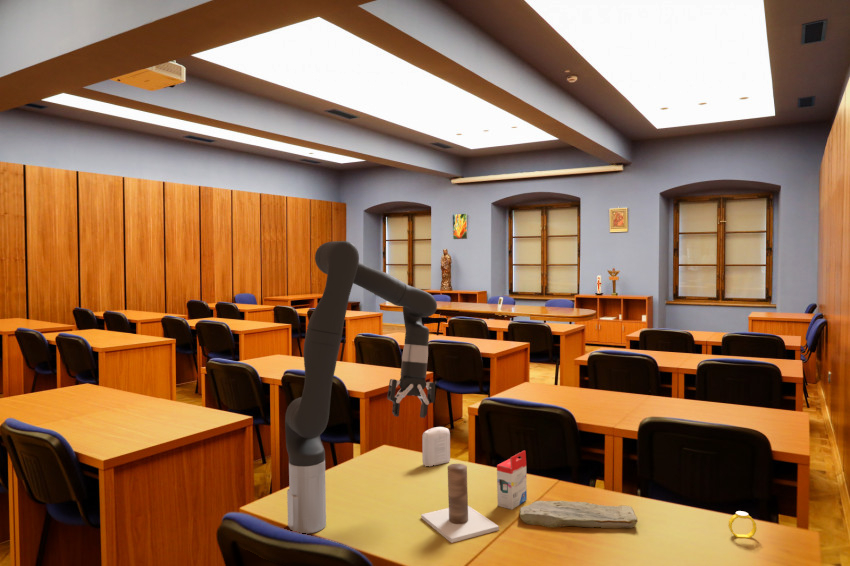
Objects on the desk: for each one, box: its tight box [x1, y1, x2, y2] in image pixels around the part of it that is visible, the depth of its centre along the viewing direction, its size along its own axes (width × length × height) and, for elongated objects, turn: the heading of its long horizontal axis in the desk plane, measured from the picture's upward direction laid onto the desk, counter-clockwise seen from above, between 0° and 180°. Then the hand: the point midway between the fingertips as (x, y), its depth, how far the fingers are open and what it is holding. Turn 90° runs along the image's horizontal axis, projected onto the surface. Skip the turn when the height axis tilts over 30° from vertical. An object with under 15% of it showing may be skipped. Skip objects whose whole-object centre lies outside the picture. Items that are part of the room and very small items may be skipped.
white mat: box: [420, 505, 500, 544], centre depth 149 cm, size 14×16×1 cm
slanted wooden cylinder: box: [447, 463, 469, 524], centre depth 149 cm, size 5×5×14 cm
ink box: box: [496, 450, 528, 510], centre depth 162 cm, size 8×5×15 cm, turn 141°
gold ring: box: [727, 510, 757, 539], centre depth 140 cm, size 6×3×6 cm, turn 82°
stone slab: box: [519, 500, 638, 529], centre depth 152 cm, size 12×4×30 cm
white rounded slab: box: [421, 426, 451, 467], centre depth 196 cm, size 10×4×12 cm, turn 125°
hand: (409, 416), depth 166 cm, fingers open, 8 cm apart
